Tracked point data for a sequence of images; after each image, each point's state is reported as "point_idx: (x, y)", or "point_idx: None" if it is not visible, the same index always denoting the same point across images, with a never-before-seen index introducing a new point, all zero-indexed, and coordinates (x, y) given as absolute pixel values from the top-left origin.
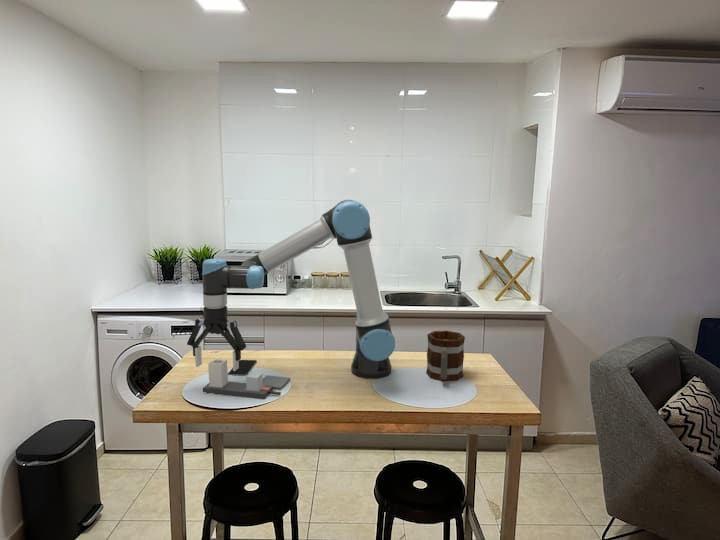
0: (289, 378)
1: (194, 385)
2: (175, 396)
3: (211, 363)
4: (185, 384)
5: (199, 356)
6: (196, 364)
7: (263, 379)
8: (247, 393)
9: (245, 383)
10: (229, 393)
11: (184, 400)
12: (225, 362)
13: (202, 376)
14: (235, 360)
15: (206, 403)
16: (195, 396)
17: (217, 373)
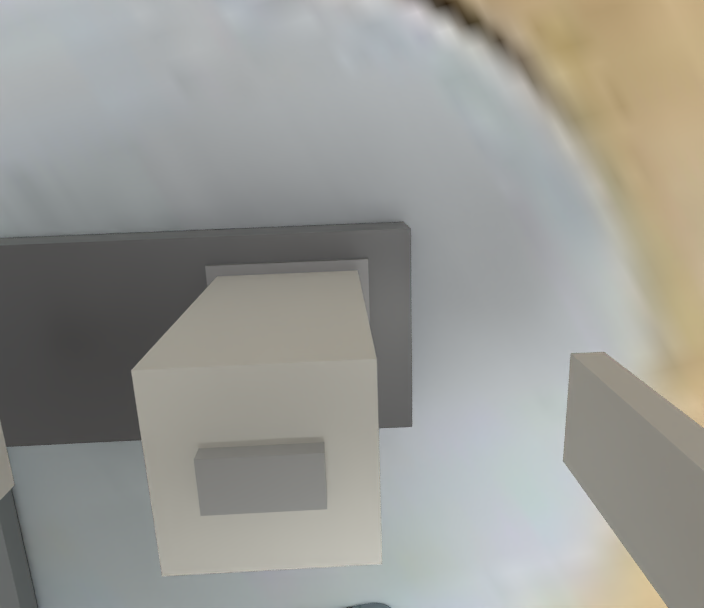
0: None
1: (565, 348)
2: (620, 76)
3: (323, 374)
4: (656, 346)
5: (639, 492)
6: (605, 365)
7: (1, 580)
8: None
9: (59, 433)
10: (119, 236)
11: (487, 11)
12: (160, 509)
13: (589, 528)
14: None
15: (237, 5)
16: (431, 129)
17: (232, 316)
